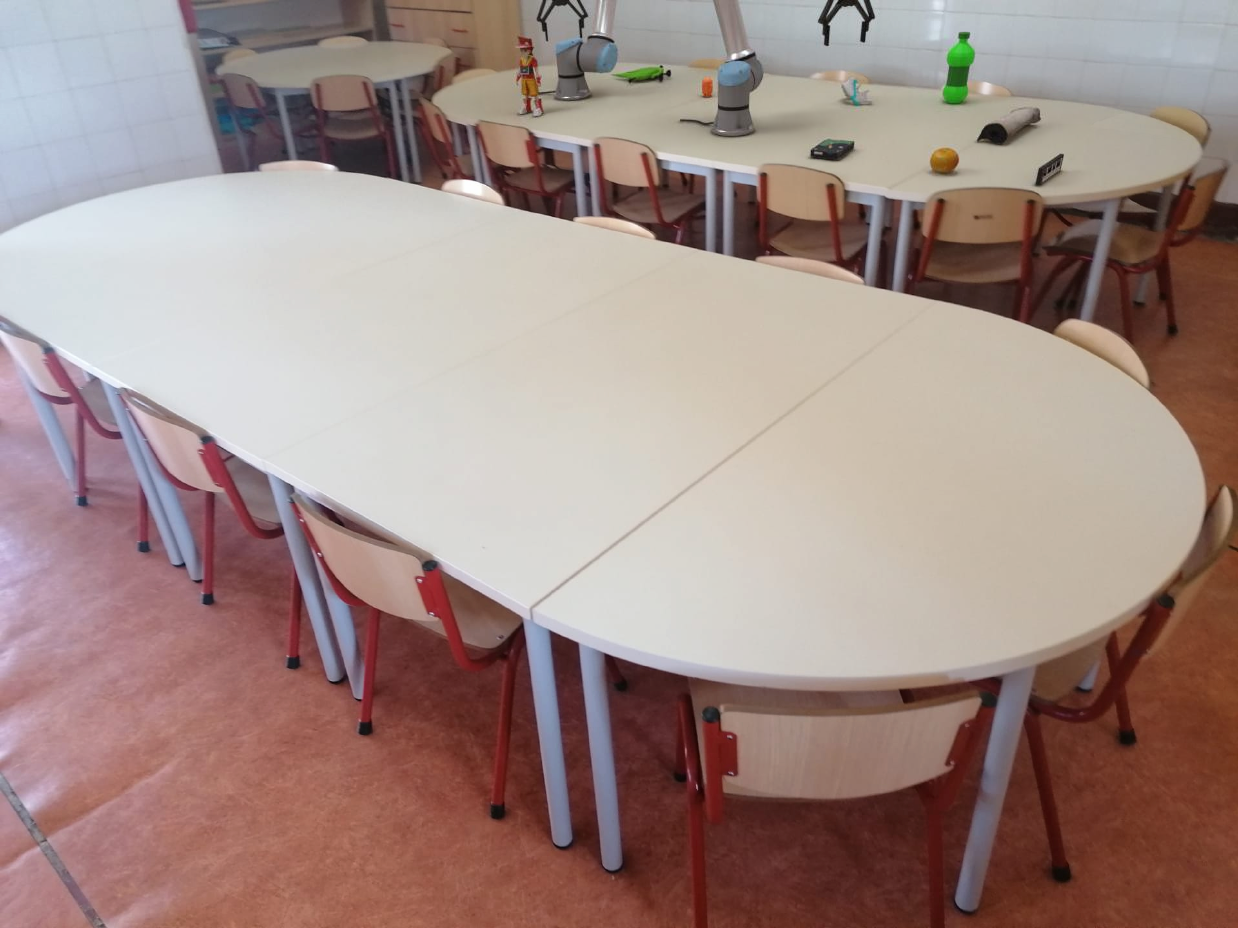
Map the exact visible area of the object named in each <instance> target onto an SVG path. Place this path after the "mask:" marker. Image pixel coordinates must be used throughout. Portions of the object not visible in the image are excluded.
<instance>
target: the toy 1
mask: <svg viewBox="0 0 1238 928" xmlns="http://www.w3.org/2000/svg"><path fill="white" fill-rule="evenodd" d="M516 37H517V39H518V41H515V44H517V45H516V46H514V48H516V49H519V51H520V55H521V56H522V57H520V58H519V59H520V60H519V63H518V66H519V69H518V72H516V79H515V81H516V82H515V83H516V85H517V86H519V81H520V79H521V81H520V83H521V84H520V85H521V91H520V92H521V95H523V96H524V97H525V98H523V99H522V101H523V103H524V105H525V106H524V107H521V108H519V111H518V114H519V115H524V114H528V113H530V112H532V105H531V103H532V99H533V98H534V101H533V103H534V105H535V106H536V109H535V110H533V115H532V116H533V117H539V116H541V115H542V114H543V113H544V109H543V104H542V103H543V101H542V98H539V95H540V94H539V92H540V89H539V88H540V87H542V83H541V79H542V77H543V76H542V75H541V74H540V73H539V68H538V67H539V63H538V60H537V59H536V57H534V54H533V51H534V48H535V46H533V40H532V38H531V37H530V38H527V37H524V36H518V35H517V36H516ZM532 97H533V98H532Z"/></svg>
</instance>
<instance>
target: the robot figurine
mask: <svg viewBox="0 0 1238 928" xmlns="http://www.w3.org/2000/svg"><path fill="white" fill-rule="evenodd" d="M713 83H714V81H713V79H712V77H707V76H704V78H703V79H702V81H701V93H702V95H703V97H705V98H710V97H712V94H713V91H714V84H713Z"/></svg>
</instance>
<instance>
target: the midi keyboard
mask: <svg viewBox="0 0 1238 928" xmlns="http://www.w3.org/2000/svg"><path fill="white" fill-rule="evenodd" d="M1064 157H1065V153H1059V154H1058V155H1056V156H1055V157H1052V159H1051V160H1049V161H1047V162H1045V164H1042V165H1041V166H1039V167H1038V169H1037V175H1036V179H1035V186H1040V185H1042V183H1044V182H1045V181H1047V180H1048V179H1049V178H1051V177H1052V176H1054V175H1055V174H1056V173H1058V172H1060V171H1061V170H1062V165H1063V161H1064Z"/></svg>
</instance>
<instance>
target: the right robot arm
mask: <svg viewBox="0 0 1238 928" xmlns="http://www.w3.org/2000/svg"><path fill="white" fill-rule="evenodd" d="M862 1H863V3H864V7H865V9H866V10H865V9H864V7H863V6H862V4H861V2H860V1H859V0H837V1H836V3H835V4H834V2H835V0H827V1H826V3H825V5H824V7H823V9H822V11H821V13H820V15H819V18H818V19H817V23H818V24H820V25H822V31H821V32H822V33H821V34H822V36H823V37H824V38H823V46H826V47H829V46H830V35H831V25H830V23H831V21H832V20H833V19H834V18H835V17H836V15H837V14H838V12H839V11H840V10H841V9H843V7H844V8H848V7H855V9H856V10H857V12H858V13H859V14H860V16H861V18H862V19H863V20H862V21H861V28H860V37H859V38H860V39H859V42H860V43H863V44H865V43H866V39H867V32H869V31H870V29H869V28H870V23H871V21H873V20H875V19H876V15H875V11H874V8H873V6H872V3H871V0H862ZM712 3H713V6H714V9H715V10H714V11H715V13H716V17H717V22H718V24H719V28H720V33H721V36H722V40H723V44H724V48H725V52H726V58H725V60H724V63H723V64H721V65H720V66H719V68H718V70H717V111H716V114H715V118H714V120H713V121H710V122H704V121H702V120H698V119H689V118H686V119H685V118H680V119H679V121H680V122H691V123H698V124H701V125H704V126H709V125H712V133H713V134H715V135H717V136H721V137H741V136H746V135H750V134H752V133H754V127H755V126H754V122H753V118H752V115H751V111H750V94H751V93H752V92H754V91H756V90H757V89H758V87H760V85H761V83H762V82H763V79H764V75H765V74H764V72H765V71H764V67H763V64H762V62H761V61H760V60H759V59H758V58H757V54H756V50H755V49H753V48H751V46H750V44H749V43H750V42H749V38H748V34H747V30H746V27H745V22H744V19H743V15H742V10H741V7H740V3H739V0H712ZM833 4H834V7H833Z"/></svg>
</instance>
